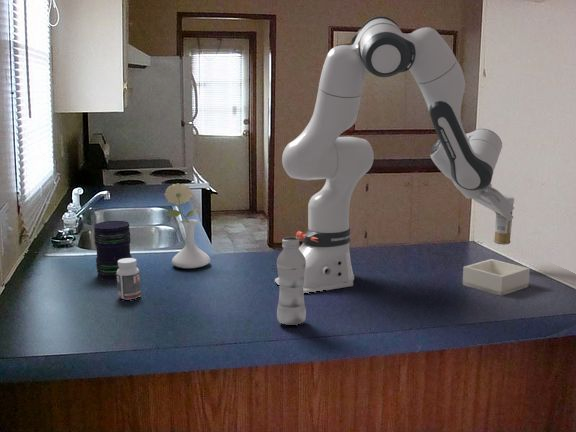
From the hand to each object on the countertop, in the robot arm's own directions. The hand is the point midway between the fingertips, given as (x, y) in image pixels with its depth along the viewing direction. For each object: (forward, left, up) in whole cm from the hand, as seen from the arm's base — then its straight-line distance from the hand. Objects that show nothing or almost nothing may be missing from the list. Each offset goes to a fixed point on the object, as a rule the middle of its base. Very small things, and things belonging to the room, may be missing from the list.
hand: (506, 216), depth 189 cm
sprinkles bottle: (-1, +1, -8) cm, 8 cm away
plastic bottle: (-73, +5, -16) cm, 75 cm away
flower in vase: (-68, +62, -16) cm, 93 cm away
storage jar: (-89, +67, -16) cm, 112 cm away
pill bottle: (-94, +46, -16) cm, 106 cm away
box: (-14, -7, -16) cm, 22 cm away
